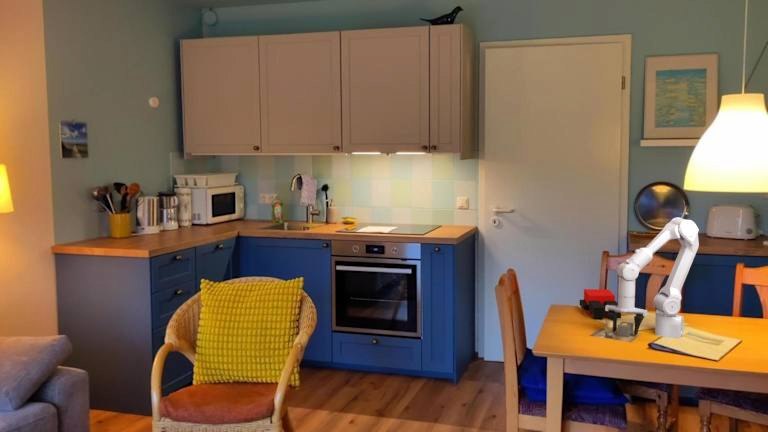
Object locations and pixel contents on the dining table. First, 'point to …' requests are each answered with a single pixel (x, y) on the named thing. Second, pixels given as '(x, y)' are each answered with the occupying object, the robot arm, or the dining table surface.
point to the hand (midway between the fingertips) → (625, 332)
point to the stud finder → (625, 329)
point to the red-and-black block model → (598, 302)
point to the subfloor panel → (614, 336)
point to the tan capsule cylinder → (608, 329)
